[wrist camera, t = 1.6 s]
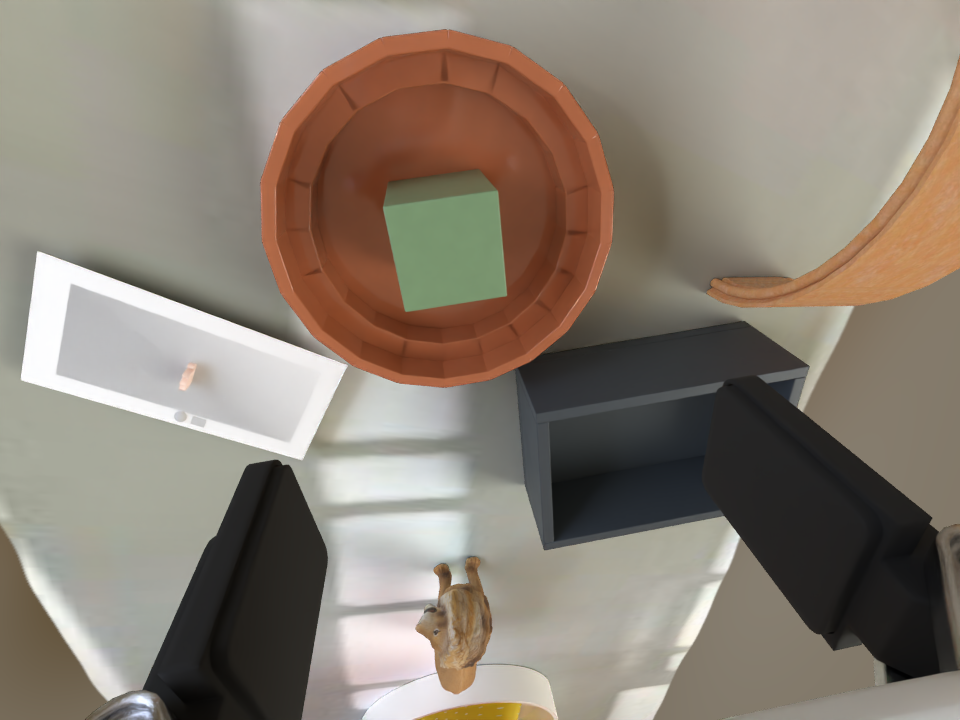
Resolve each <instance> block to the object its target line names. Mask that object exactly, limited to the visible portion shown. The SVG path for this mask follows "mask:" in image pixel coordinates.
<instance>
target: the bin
mask: <svg viewBox="0 0 960 720" xmlns="http://www.w3.org/2000/svg"><path fill="white" fill-rule="evenodd" d="M808 370H809V366H808V365H807V364H806V363H804V362H803V361H801V360H800V359H798V358H797V357H795V356H794V355H793V354H791V353H790V352H788V351H787V350H785V349H784V348H783V347H781V346H780V345H778V344H777V343H775V342H774V341H772V340H771V339H770V338H768V337H767V336H765V335H764V334H762V333H761V332H760V331H758V330H757V329H755V328H754V327H751V325H749V324H748V323H746V322H745V321H743V322H737V323H731V324H725V325H719V326H713V327H707V328H701V329H695V330H689V331H683V332H677V333H671V334H665V335H659V336H653V337H647V338H641V339H635V340H629V341H623V342H617V343H611V344H605V345H599V346H593V347H587V348H581V349H575V350H569V351H563V352H557V353H551V354H545V355H539V356H537V357H536V358H535V359H534V360H531V362H529V363H526V364H524V365H522V366H520V367H518V368H515V371H516V383H517V395H518V407H519V419H520V431H521V443H522V455H523V467H524V478H525V487H526V491H527V494H528V497H529V501H530V504H531V508H532V511H533V514H534V518H535V521H536V524H537V528H538V531H539V535H540V538H541V541H542V545H543V548H544V550H549V549H554V548H560V547H565V546H570V545H575V544H580V543H586V542H591V541H596V540H601V539H607V538H612V537H617V536H622V535H627V534H633V533H638V532H643V531H648V530H653V529H659V528H664V527H669V526H674V525H679V524H685V523H690V522H695V521H700V520H705V519H711V518H716V517H721V516H724V514H723V513H722V512H721V510H720V509H719V508H718V506H717V505H716V504H715V502H714V501H713V500H712V498H711V497H710V496H709V494H708V493H707V491H706V490H705V488H704V486H703V482H702V471H703V465H704V459H705V454H706V448H707V443H708V437H709V431H710V426H711V420H712V414H713V409H714V403H715V397H716V393H717V390H718V389H719V388H720V387H722V386H723V383H724V382H725V381H726V380H728V379H732V378H738V377H743V376H749V375H756V376H758V377H759V378H761V379H762V380H763V381H764V382H766V383H767V384H768V385H769V386H771V387H772V388H773V389H774V390H776V391H777V392H778V393H779V394H780V395H782V396H783V397H784V398H785V399H787V400H788V401H789V402H790V403H792V404H793V405H794V406H795V407H797V405H798V402H799V399H800V395H801V392H802V389H803V386H804V382H805V379H806V376H807V373H808Z"/></svg>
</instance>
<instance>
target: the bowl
mask: <svg viewBox="0 0 960 720" xmlns="http://www.w3.org/2000/svg"><path fill="white" fill-rule="evenodd" d="M475 169H479V170H480V171H481V172H482V173H483V174H484V175H485V177H486V178H487V179H488V180H489V181H490V182H491V183H492V185H493V186H494V187H495V188H496V189H497V190H498V195H499V207H500V218H501V230H502V241H503V253H504V264H505V276H506V287H507V296H505V297H499V298H493V299H486V300H480V301H474V302H467V303H461V304H455V305H448V306H442V307H436V308H429V309H423V310H417V311H410V312H406V311H405V309H404V304H403V300H402V295H401V290H400V286H399V281H398V276H397V272H396V267H395V262H394V258H393V253H392V248H391V244H390V239H389V234H388V230H387V225H386V220H385V216H384V211H383V206H384V200H385V195H386V190H387V185H388V182H390V181H397V180H404V179H411V178H418V177H425V176H432V175H439V174H446V173H453V172H460V171H468V170H475ZM260 184H261V228H262V243H263V246H264V249H265V251H266V254H267V257H268V260H269V262H270V265H271V268H272V271H273V274H274V276H275V279H276V282H277V285H278V288H279V290H280V293H281V294H282V296H283V297H284V299H285V300H286V301H287V303H288V304H289V305H290V307H291V308H292V309H293V310H294V312H295V313H296V314H297V316H298V317H299V318H300V320H301V321H302V322H303V324H304V325H305V326H306V328H307V329H308V330H309V332H310V333H311V334H312V336H314V338H316V339H317V340H318V341H320V342H321V343H322V344H324V345H325V346H327V347H328V348H329V349H331V350H332V351H333V352H335V353H336V354H337V355H339V356H340V357H341V358H343V359H344V360H345V361H347V362H348V363H350V364H351V365H352V366H354V367H356V368H359V369H362V370H364V371H367V372H370V373H372V374H375V375H378V376H380V377H383V378H386V379H388V380H391V381H393V382H396V383H400V384H410V385H421V386H431V387H442V388H444V387H445V388H447V387H452V386H458V385H464V384H470V383H476V382H482V381H488V380H491V379H494V378H496V377H498V376H500V375H502V374H505V373H507V372H509V371H511V370H513V369H515V368H518V367H520V366H522V365H524V364H526V363H529V362H531V360H534V359H535V358H536V357H537V356H538V355H540V354H541V353H542V352H543V351H544V350H546V349H547V348H548V347H549V346H551V345H552V344H553V343H554V342H555V341H557V340H558V339H559V338H560V337H561V336H563V335H564V334H565V333H566V332H567V331H568V330H569V329H570V327H571V326H572V324H573V323H574V321H575V320H576V319H577V317H578V316H579V314H580V313H581V311H582V310H583V309H584V307H585V306H586V304H587V303H588V301H589V300H590V299H591V297H592V296H593V294H594V293H595V291H596V288H597V285H598V282H599V280H600V277H601V274H602V271H603V268H604V265H605V262H606V259H607V256H608V253H609V250H610V247H611V243H612V230H613V204H614V190H613V184H612V181H611V177H610V173H609V170H608V166H607V163H606V159H605V155H604V152H603V148H602V145H601V141H600V137H599V135H598V132H597V131H596V129H595V128H594V126H593V125H592V124H591V122H590V121H589V119H588V118H587V116H586V115H585V113H584V112H583V110H582V109H581V107H580V106H579V104H578V103H577V102H576V100H575V99H574V97H573V96H572V94H571V93H570V91H569V90H568V88H567V87H566V85H564V84H563V82H561V81H560V80H559V79H557V78H556V77H555V76H553V75H552V74H550V73H549V72H548V71H546V70H545V69H543V68H542V67H541V66H539V65H538V64H537V63H535V62H534V61H532V60H531V59H530V58H528V57H527V56H525V55H524V54H523V53H521V52H520V51H519V50H517V49H516V48H514V47H512V46H510V45H507V44H503V43H499V42H495V41H492V40H488V39H484V38H480V37H476V36H473V35H469V34H465V33H461V32H458V31H454V30H447V29H444V30H435V31H427V32H419V33H411V34H403V35H395V36H387V37H382V39H381V38H378V39H377V40H375V41H373V42H371V43H369V44H368V45H366V46H364V47H362V48H360V49H359V50H357V51H355V52H353V53H351V54H350V55H348V56H346V57H344V58H343V59H341V60H339V61H337V62H335V63H334V64H332V65H330V66H328V67H326V68H325V69H323V71H321V72H320V73H319V74H318V75H317V77H316V78H315V79H314V80H313V82H312V83H311V84H310V85H309V87H308V88H307V89H306V90H305V91H304V93H303V94H302V95H301V96H300V98H299V99H298V100H297V101H296V102H295V104H294V105H293V106H292V107H291V109H290V110H289V111H288V112H287V113H286V115H285V116H284V117H283V118H282V120H281V122H280V124H279V127H278V130H277V133H276V136H275V139H274V142H273V145H272V148H271V151H270V154H269V157H268V160H267V163H266V166H265V169H264V172H263V175H262V178H261V182H260Z"/></svg>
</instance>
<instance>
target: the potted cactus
mask: <svg viewBox="0 0 960 720" xmlns="http://www.w3.org/2000/svg"><path fill="white" fill-rule="evenodd" d="M362 720H558V717H557V713H556V708H555V704H554V700H553V696H552V692H551V688H550V684H549V681H548V680H547V678H546V677H545V676H544V675H542V674H541V673H539V672H537V671H535V670H532V669H529V668H526V667H521V666H514V665H479V666H476V675H475V679H474V682H473V684H472V685H471V686H470V687H469V688H467V689H466V690H464V691H462V692H461V693H459V694H453V693H452V692H449V691H446V690H445V689H444V688H443V687H442V686H441V684H440V680H439V677H438V674H437V673H436V674H433V675H429V676H426V677H423V678H420V679H418V680H415V681H412V682H410V683H408V684H405V685H403V686H401V687H399V688H397V689H395V690H393V691H391V692H390V693H388V694H386V695H385V696H383V697H382V698H380V699H379V700H378V701H376V702H375V703H374V704H373V705H372V706H371V707H370V708H369V709H368V710H367V712H366V713H365V714H364V716H363V718H362Z"/></svg>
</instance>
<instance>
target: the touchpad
mask: <svg viewBox="0 0 960 720" xmlns="http://www.w3.org/2000/svg"><path fill="white" fill-rule="evenodd" d="M346 367H347V365H346V364H343V363H341V362H338V361H335V360H333V359H330V358H327V357H325V356H322V355H319V354H316V353H314V352H311V351H308V350H306V349H303V348H300V347H297V346H295V345H292V344H289V343H287V342H284V341H281V340H278V339H276V338H273V337H270V336H268V335H265V334H262V333H259V332H257V331H254V330H251V329H249V328H246V327H243V326H240V325H238V324H235V323H232V322H230V321H227V320H224V319H222V318H219V317H216V316H213V315H211V314H208V313H205V312H203V311H200V310H197V309H194V308H192V307H189V306H186V305H184V304H181V303H178V302H175V301H173V300H170V299H167V298H165V297H162V296H159V295H156V294H154V293H151V292H148V291H146V290H143V289H140V288H137V287H135V286H132V285H129V284H127V283H124V282H121V281H119V280H116V279H113V278H110V277H108V276H105V275H102V274H100V273H97V272H94V271H91V270H89V269H86V268H83V267H81V266H78V265H75V264H72V263H70V262H67V261H64V260H62V259H59V258H56V257H53V256H51V255H48V254H45V253H43V252H40V251H37V259H36V266H35V274H34V282H33V289H32V297H31V305H30V313H29V320H28V328H27V336H26V343H25V351H24V359H23V367H22V374H21V380H22V381H26V382H29V383H33V384H36V385H40V386H43V387H47V388H51V389H54V390H58V391H61V392H65V393H68V394H72V395H75V396H79V397H82V398H86V399H89V400H93V401H96V402H100V403H103V404H107V405H110V406H114V407H117V408H121V409H124V410H128V411H131V412H135V413H138V414H142V415H145V416H149V417H152V418H156V419H159V420H163V421H166V422H170V423H173V424H177V425H180V426H184V427H187V428H191V429H194V430H198V431H201V432H205V433H209V434H212V435H216V436H219V437H223V438H226V439H230V440H233V441H237V442H240V443H244V444H247V445H251V446H254V447H258V448H261V449H265V450H268V451H272V452H275V453H279V454H282V455H286V456H289V457H293V458H296V459H300V460H303V458H304V456H305V453H306V451H307V449H308V447H309V445H310V443H311V441H312V439H313V437H314V435H315V432H316V430H317V428H318V426H319V424H320V422H321V420H322V418H323V416H324V414H325V411H326V409H327V407H328V405H329V403H330V401H331V399H332V397H333V395H334V393H335V391H336V388H337V386H338V384H339V382H340V380H341V378H342V376H343V374H344V372H345V370H346Z"/></svg>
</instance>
